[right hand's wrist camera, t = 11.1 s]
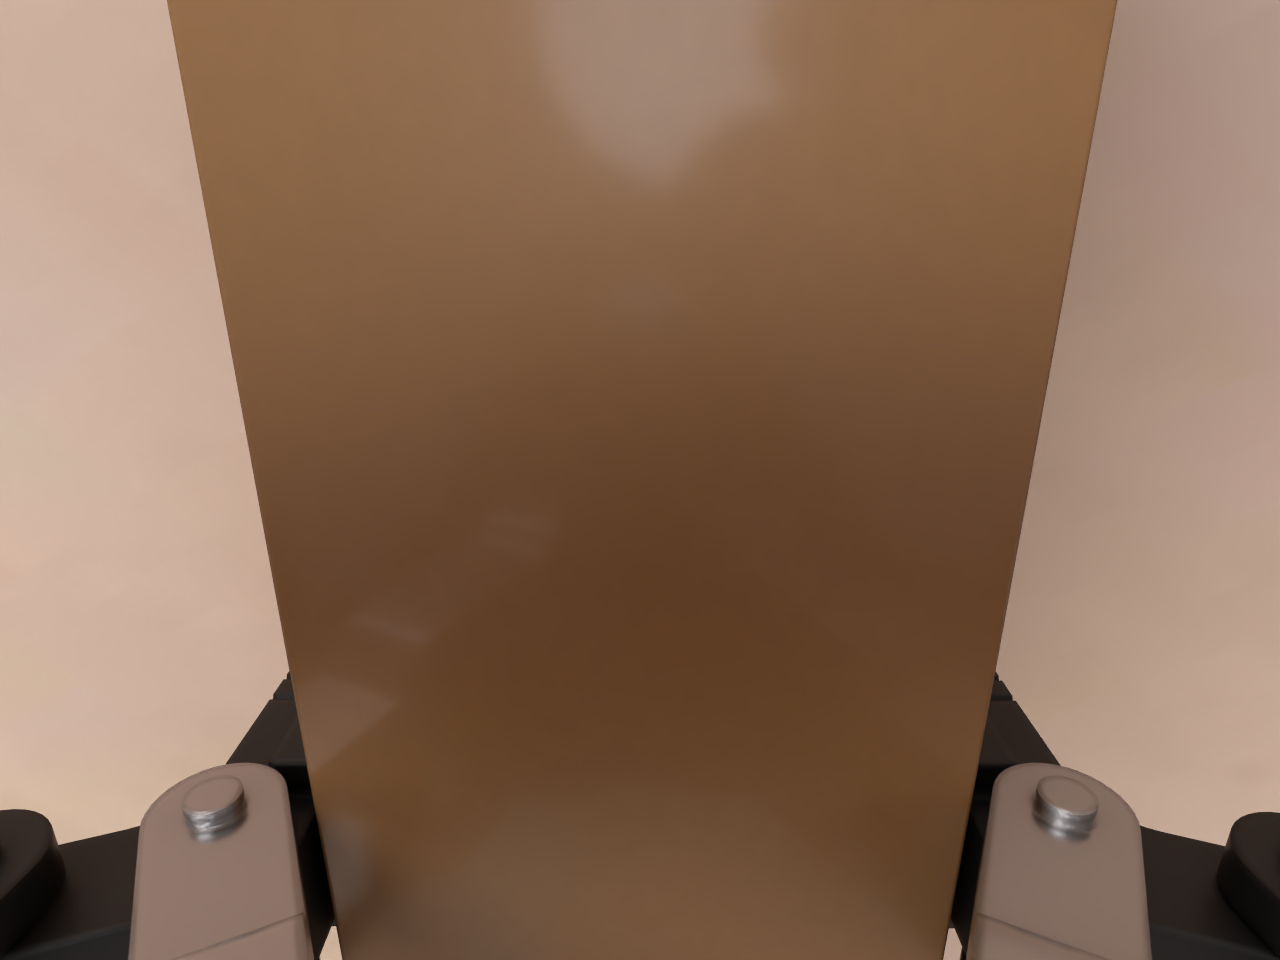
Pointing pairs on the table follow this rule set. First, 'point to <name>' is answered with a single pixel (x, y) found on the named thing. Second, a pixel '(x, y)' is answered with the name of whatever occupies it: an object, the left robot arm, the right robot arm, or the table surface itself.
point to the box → (642, 443)
